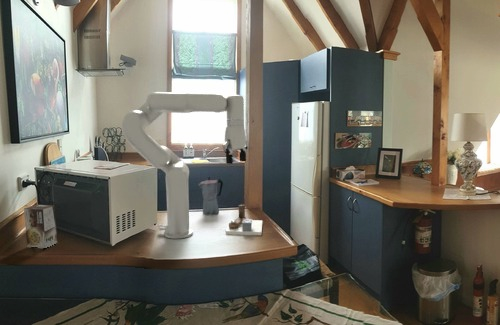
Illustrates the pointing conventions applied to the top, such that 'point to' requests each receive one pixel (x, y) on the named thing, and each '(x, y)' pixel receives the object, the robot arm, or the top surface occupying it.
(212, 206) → the moka pot
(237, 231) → the base plate
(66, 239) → the top surface
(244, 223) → the keeper
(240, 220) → the walnut link
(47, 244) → the coffee box
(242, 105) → the robot arm
